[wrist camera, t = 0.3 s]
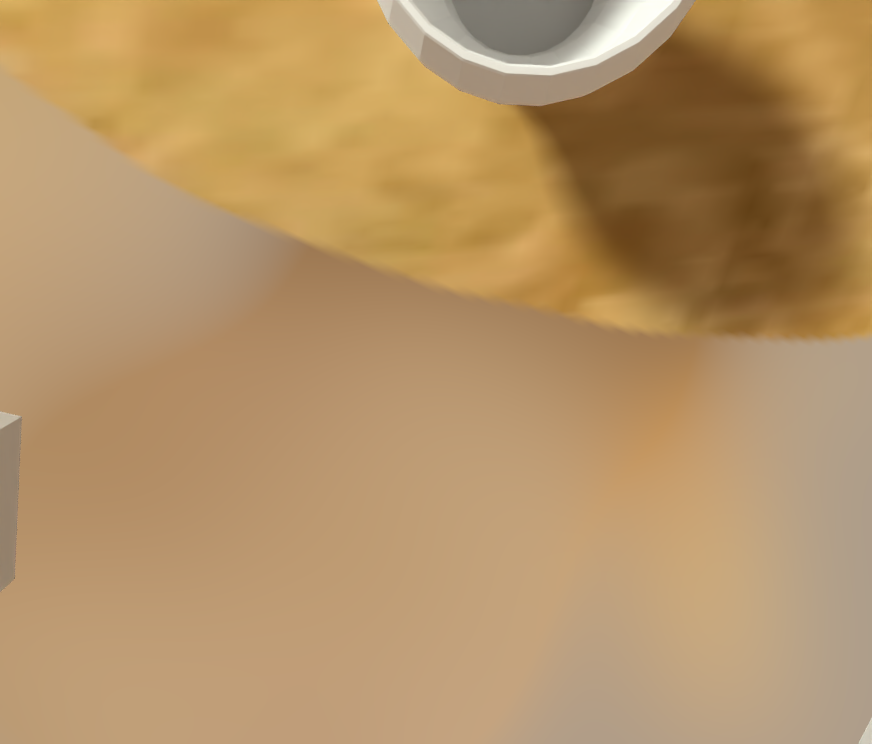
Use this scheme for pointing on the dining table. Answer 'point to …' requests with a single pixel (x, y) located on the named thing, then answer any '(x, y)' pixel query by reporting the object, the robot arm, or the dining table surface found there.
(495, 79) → the cup
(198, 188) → the dining table surface
